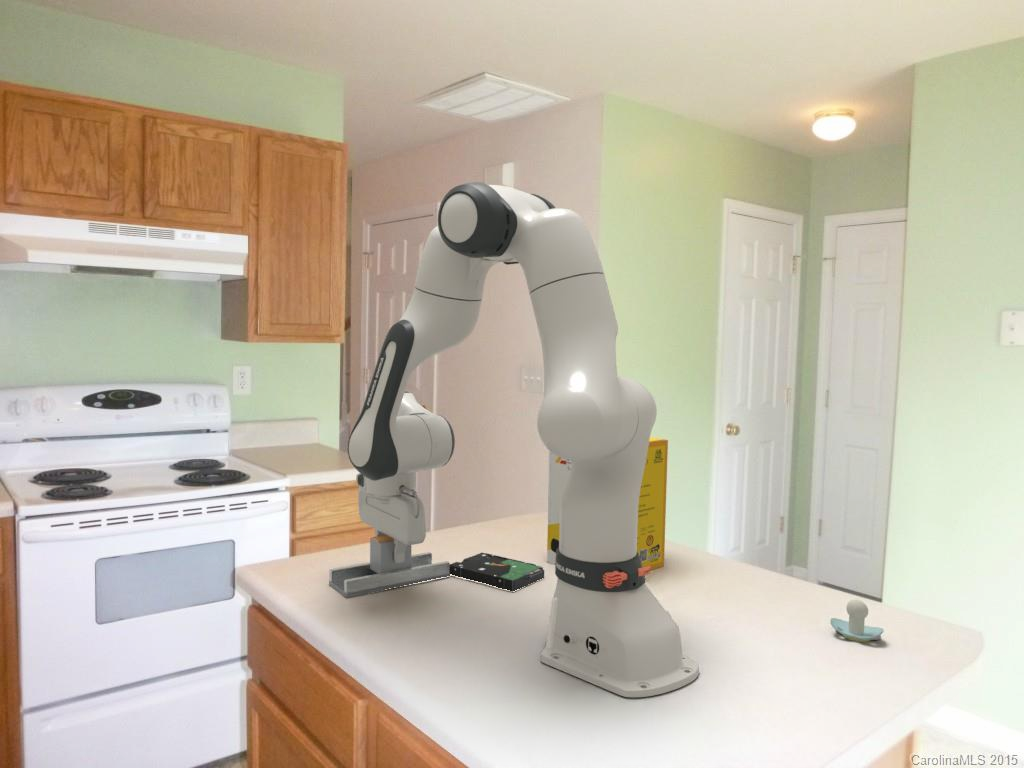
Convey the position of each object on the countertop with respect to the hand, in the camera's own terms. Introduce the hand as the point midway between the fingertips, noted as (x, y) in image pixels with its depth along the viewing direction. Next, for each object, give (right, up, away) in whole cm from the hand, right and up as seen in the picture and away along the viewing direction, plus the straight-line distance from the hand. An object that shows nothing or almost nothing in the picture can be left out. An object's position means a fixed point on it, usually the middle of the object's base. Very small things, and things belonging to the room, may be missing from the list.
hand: (390, 557), depth 136 cm
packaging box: (+40, -4, +13) cm, 42 cm away
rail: (0, -4, 0) cm, 4 cm away
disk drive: (+19, -5, +4) cm, 20 cm away
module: (0, -2, 0) cm, 2 cm away
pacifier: (+74, -8, -21) cm, 78 cm away
